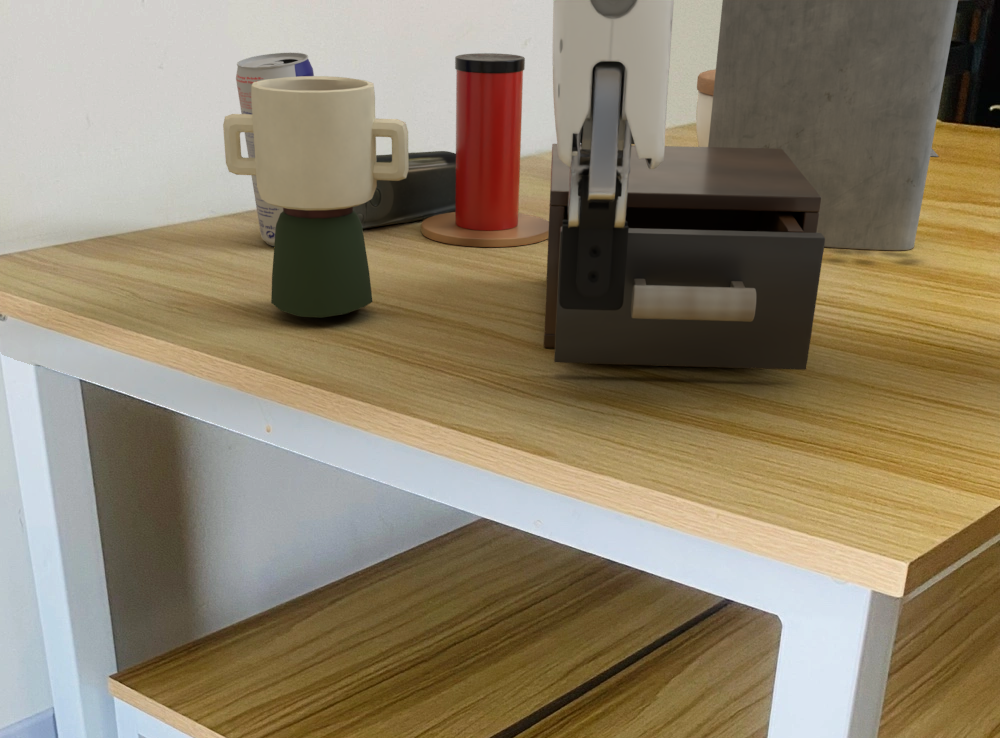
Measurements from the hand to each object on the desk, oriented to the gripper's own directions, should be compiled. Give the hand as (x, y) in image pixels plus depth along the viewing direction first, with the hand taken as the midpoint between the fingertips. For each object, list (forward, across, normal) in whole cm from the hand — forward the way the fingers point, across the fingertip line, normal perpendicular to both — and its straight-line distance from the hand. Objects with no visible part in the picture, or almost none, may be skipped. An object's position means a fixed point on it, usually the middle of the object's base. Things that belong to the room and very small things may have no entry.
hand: (590, 304), depth 70 cm
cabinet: (+5, +16, -5) cm, 17 cm away
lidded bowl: (+5, +57, -16) cm, 59 cm away
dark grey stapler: (+5, +40, +15) cm, 43 cm away
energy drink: (+4, +33, +20) cm, 39 cm away
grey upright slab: (+5, +38, -17) cm, 42 cm away
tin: (+4, +38, +7) cm, 39 cm away
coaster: (+5, +38, +7) cm, 39 cm away
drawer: (+4, +7, -5) cm, 10 cm away
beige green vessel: (+5, +14, +16) cm, 22 cm away
